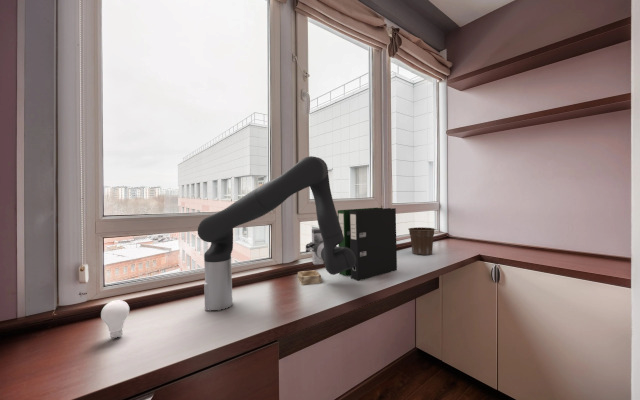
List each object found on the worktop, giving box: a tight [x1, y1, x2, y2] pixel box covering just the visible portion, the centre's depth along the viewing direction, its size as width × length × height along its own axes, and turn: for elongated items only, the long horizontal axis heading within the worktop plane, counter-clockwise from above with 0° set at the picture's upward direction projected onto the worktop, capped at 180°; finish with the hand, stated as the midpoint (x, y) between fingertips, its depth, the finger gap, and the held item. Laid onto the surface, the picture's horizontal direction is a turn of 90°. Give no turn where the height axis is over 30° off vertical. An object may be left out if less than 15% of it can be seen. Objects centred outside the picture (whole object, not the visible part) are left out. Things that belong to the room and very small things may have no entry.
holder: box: [297, 269, 322, 286], centre depth 128 cm, size 9×9×4 cm
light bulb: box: [100, 299, 130, 339], centre depth 80 cm, size 7×7×11 cm
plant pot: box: [408, 226, 436, 256], centre depth 179 cm, size 16×16×16 cm
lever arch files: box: [337, 207, 398, 282], centre depth 139 cm, size 27×15×32 cm, turn 124°
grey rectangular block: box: [311, 228, 324, 266], centre depth 122 cm, size 4×4×15 cm
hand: (315, 244), depth 125 cm, fingers closed on grey rectangular block, 4 cm apart
